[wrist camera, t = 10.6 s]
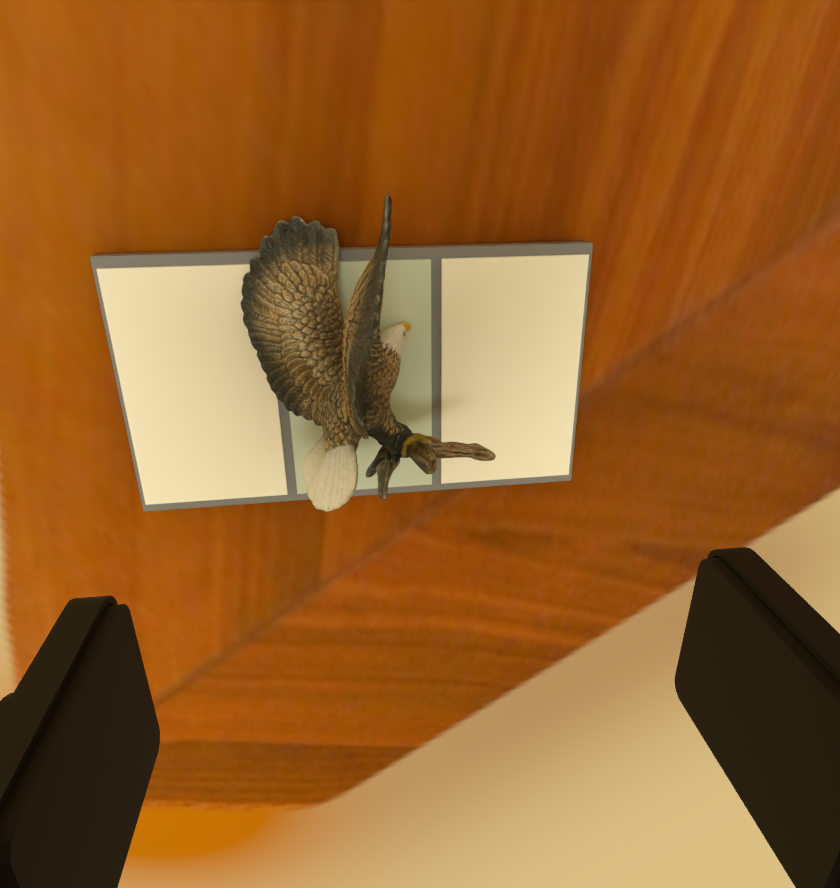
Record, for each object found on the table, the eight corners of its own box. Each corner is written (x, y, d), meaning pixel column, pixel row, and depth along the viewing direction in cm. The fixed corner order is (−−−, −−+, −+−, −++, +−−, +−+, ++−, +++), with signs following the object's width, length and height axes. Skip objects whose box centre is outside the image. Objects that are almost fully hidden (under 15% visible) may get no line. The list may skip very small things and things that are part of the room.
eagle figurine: (521, 385, 24) (430, 155, 19) (473, 531, 20) (336, 279, 14) (358, 406, 28) (246, 219, 23) (286, 533, 23) (124, 333, 18)
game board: (585, 240, 25) (595, 243, 24) (564, 472, 29) (572, 482, 28) (97, 253, 22) (87, 257, 22) (148, 502, 26) (142, 514, 26)
